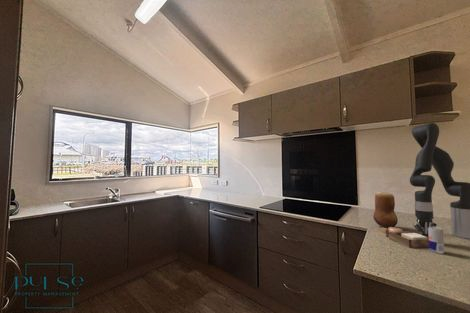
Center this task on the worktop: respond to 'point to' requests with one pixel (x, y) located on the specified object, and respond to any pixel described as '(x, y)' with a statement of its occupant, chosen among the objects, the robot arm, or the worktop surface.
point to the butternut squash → (385, 210)
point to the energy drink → (436, 240)
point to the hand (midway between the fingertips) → (425, 239)
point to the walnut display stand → (408, 240)
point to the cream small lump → (395, 229)
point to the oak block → (384, 231)
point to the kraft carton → (413, 236)
